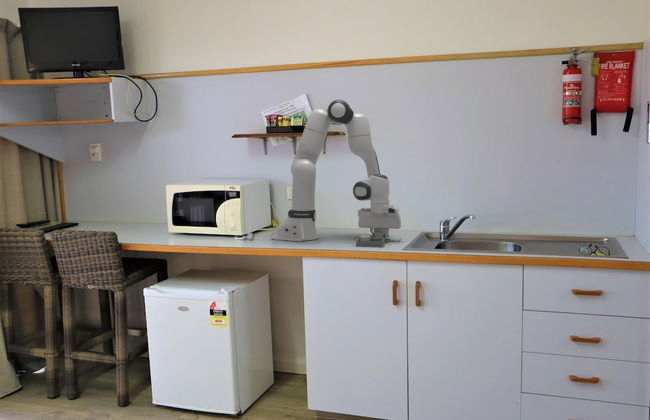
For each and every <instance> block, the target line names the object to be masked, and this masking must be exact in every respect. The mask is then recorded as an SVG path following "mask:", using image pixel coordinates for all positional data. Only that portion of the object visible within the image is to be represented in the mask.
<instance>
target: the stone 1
mask: <svg viewBox="0 0 650 420" xmlns="http://www.w3.org/2000/svg"><path fill="white" fill-rule="evenodd" d="M359 238H360V241H370V238H371V235H361V236H360V237H359Z"/></svg>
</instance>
